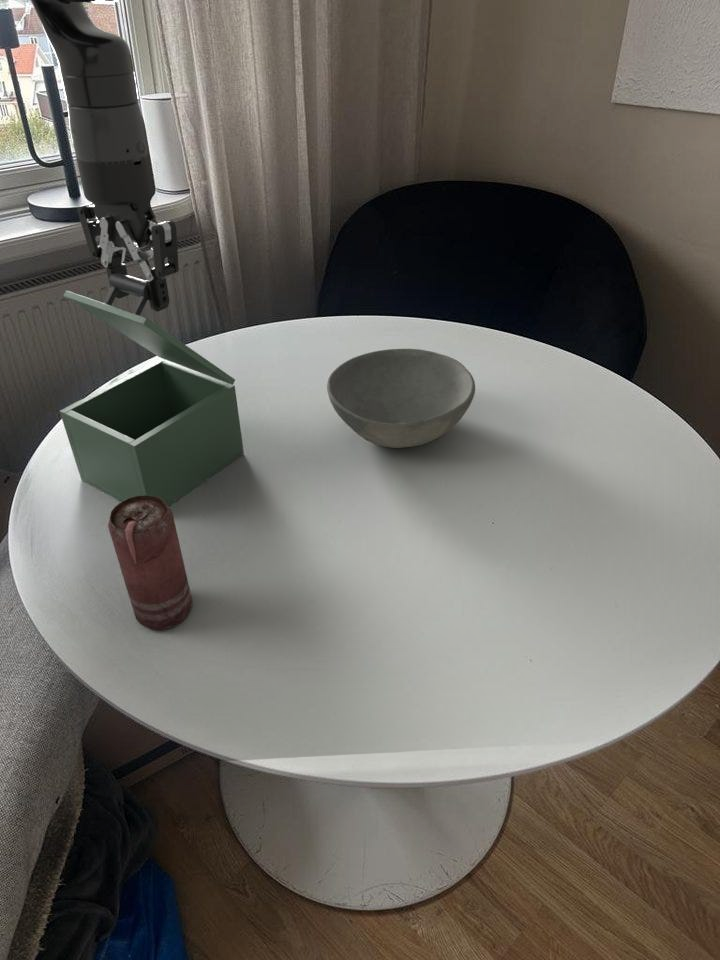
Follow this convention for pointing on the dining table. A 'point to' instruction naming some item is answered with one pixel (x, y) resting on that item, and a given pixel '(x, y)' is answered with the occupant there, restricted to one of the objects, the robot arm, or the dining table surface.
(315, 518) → the dining table surface
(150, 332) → the lid
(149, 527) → the can
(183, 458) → the chest
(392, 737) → the dining table surface
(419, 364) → the bowl
